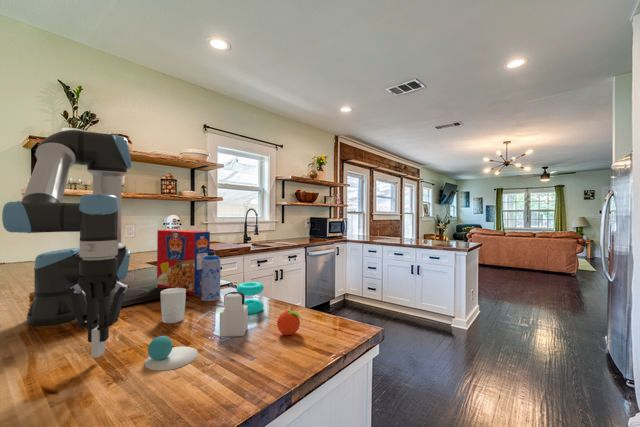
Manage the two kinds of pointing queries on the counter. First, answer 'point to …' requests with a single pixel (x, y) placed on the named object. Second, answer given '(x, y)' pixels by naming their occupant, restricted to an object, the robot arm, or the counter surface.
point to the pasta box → (181, 259)
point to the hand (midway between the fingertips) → (98, 354)
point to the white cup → (173, 304)
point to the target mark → (173, 359)
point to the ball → (160, 347)
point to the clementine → (288, 322)
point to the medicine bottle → (234, 315)
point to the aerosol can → (210, 277)
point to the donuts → (251, 289)
